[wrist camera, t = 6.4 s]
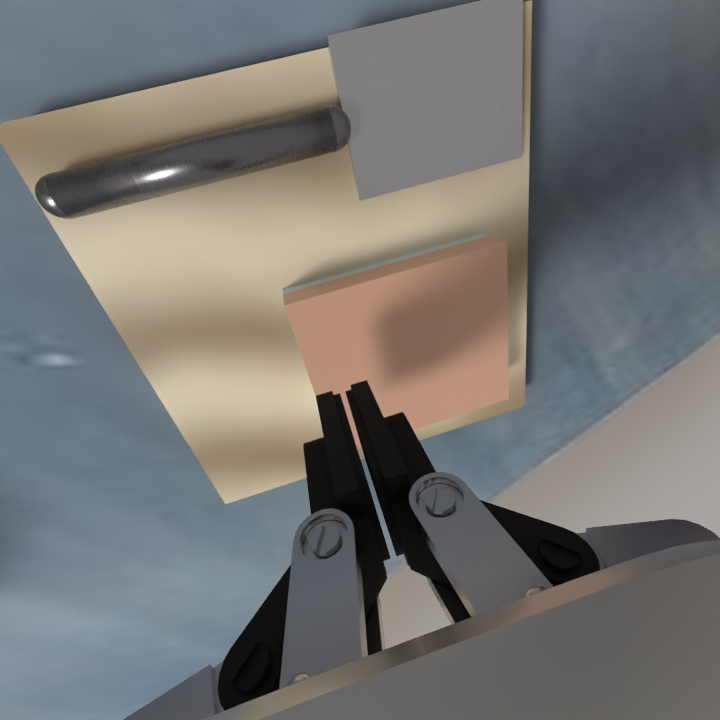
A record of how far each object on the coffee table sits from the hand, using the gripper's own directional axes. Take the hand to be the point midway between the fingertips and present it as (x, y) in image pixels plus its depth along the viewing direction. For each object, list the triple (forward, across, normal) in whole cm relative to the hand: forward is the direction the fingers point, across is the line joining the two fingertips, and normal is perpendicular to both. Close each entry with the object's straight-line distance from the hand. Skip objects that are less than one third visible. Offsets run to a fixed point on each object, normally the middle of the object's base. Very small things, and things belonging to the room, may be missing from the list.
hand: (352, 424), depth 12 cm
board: (+6, -1, -2) cm, 6 cm away
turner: (+4, -1, -8) cm, 9 cm away
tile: (+4, +1, 0) cm, 4 cm away
